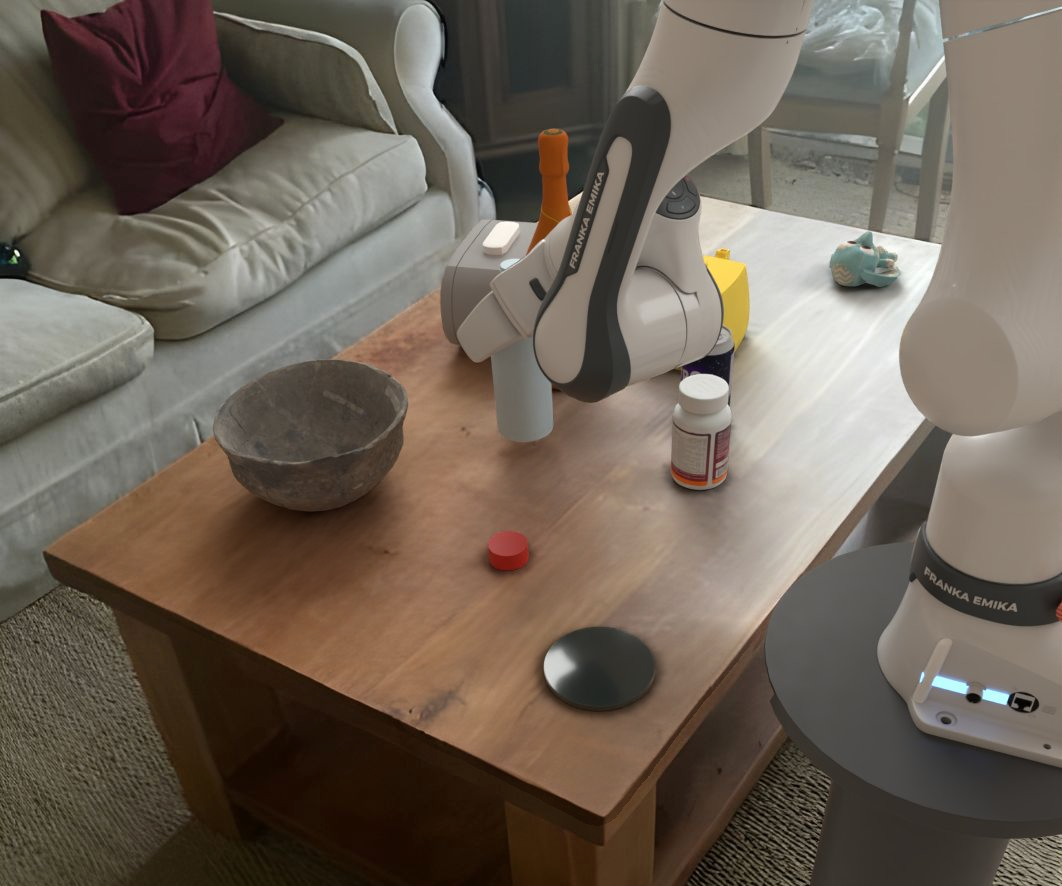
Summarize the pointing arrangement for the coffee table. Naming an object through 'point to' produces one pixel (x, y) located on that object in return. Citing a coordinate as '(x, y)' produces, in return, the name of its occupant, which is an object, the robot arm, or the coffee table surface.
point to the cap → (508, 550)
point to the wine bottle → (552, 184)
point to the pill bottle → (701, 432)
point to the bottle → (521, 390)
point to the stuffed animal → (863, 263)
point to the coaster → (599, 668)
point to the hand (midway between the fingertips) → (510, 335)
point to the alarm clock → (479, 268)
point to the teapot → (731, 292)
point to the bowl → (313, 432)
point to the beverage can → (715, 361)
